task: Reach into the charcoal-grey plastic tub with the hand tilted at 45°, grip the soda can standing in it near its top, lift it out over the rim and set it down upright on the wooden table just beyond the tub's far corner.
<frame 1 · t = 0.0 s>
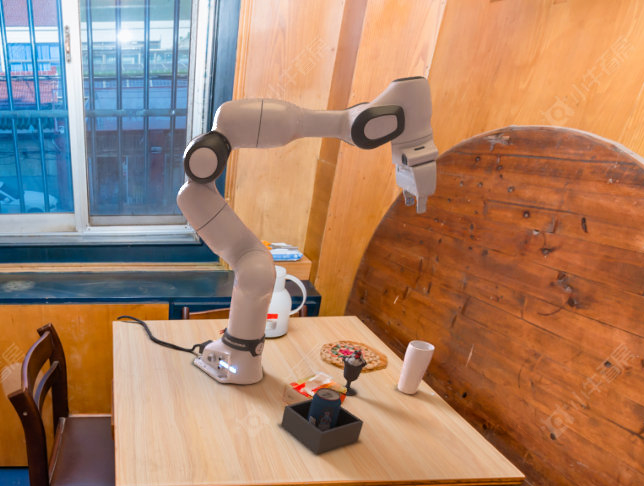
hand: (415, 208, 129), 52 cm above the table, tool tilted 20°, fingers open, 8 cm apart
soda can: (318, 433, 133), resting on tub
sundae: (346, 391, 152), on the table
drinking glass: (406, 390, 154), on the table
tub: (318, 433, 133), on the table
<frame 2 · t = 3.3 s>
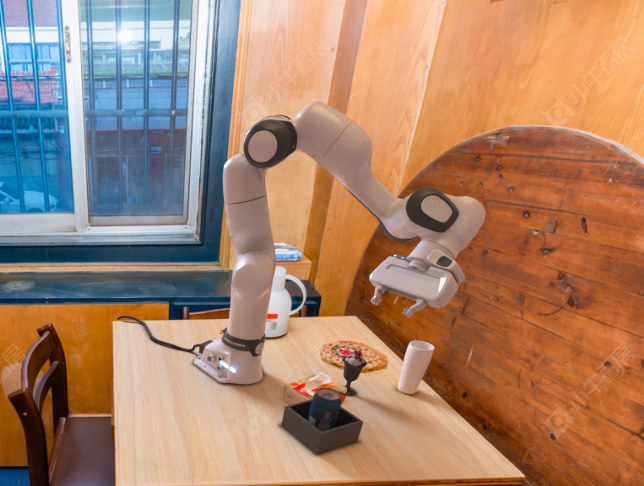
hand: (388, 309, 122), 32 cm above the table, tool tilted 40°, fingers open, 8 cm apart
nothing on the table moved.
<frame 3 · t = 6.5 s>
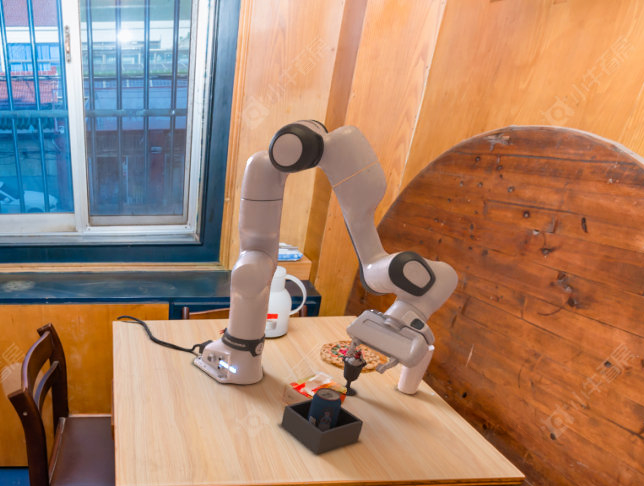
hand: (363, 363, 127), 19 cm above the table, tool tilted 45°, fingers open, 8 cm apart
nothing on the table moved.
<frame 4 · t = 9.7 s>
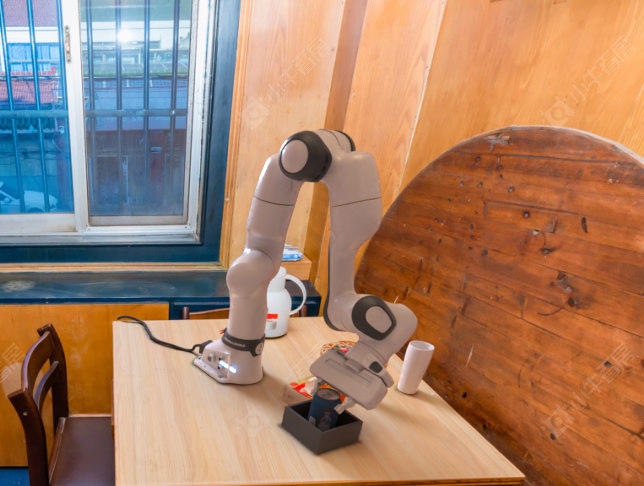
hand: (324, 403, 128), 9 cm above the table, tool tilted 45°, fingers closed on soda can, 7 cm apart
soda can: (318, 433, 133), resting on tub, touching gripper
everything else where it was.
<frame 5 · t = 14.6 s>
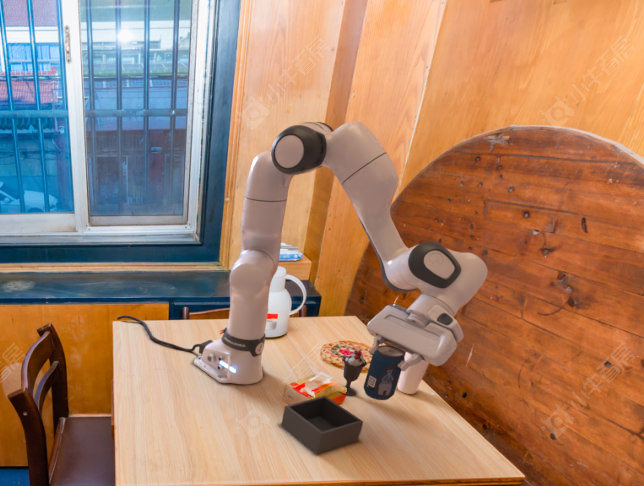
hand: (385, 361, 120), 23 cm above the table, tool tilted 45°, fingers closed on soda can, 7 cm apart
soda can: (377, 395, 125), point 13 cm above the table, touching gripper
everything else where it was.
when the fingers open (9 cm above the table, at t = 19.6 s): soda can stays where it is, on the table.
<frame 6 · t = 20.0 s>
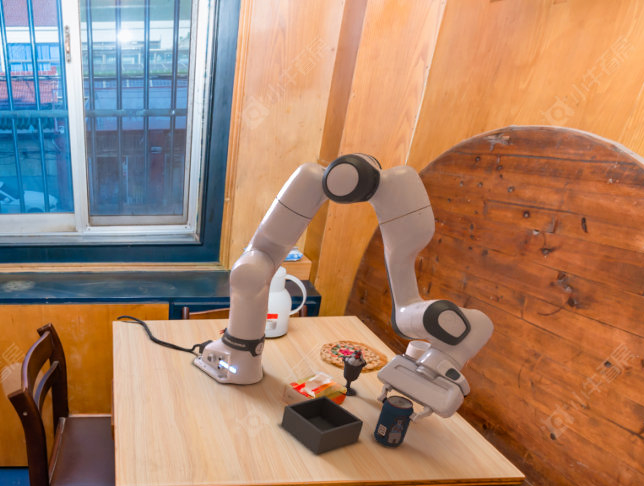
hand: (395, 410, 126), 9 cm above the table, tool tilted 45°, fingers open, 8 cm apart
soda can: (386, 441, 131), on the table
everything else where it was.
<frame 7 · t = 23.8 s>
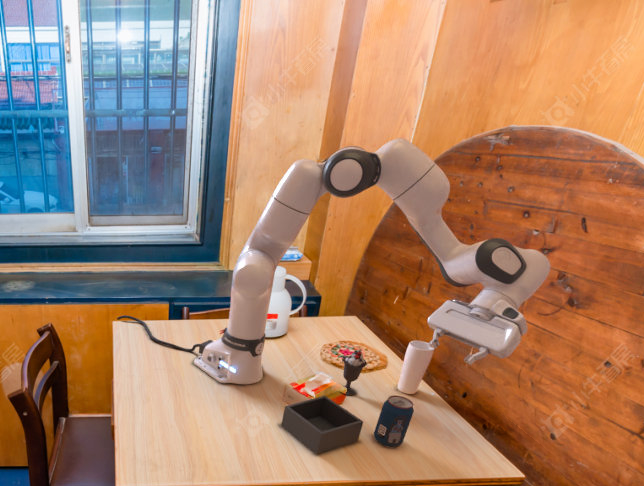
hand: (448, 354, 124), 23 cm above the table, tool tilted 45°, fingers open, 8 cm apart
nothing on the table moved.
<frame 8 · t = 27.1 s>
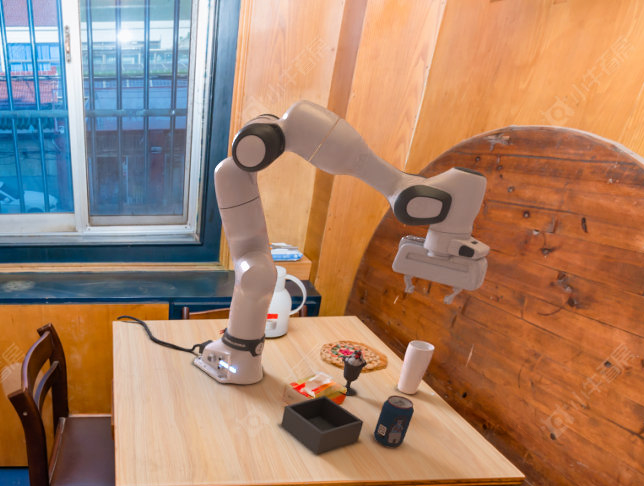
hand: (427, 297, 127), 33 cm above the table, tool pointing down, fingers open, 8 cm apart
nothing on the table moved.
at the end: soda can inside the target area (0.0 cm from its centre), on the table; soda can tilted 0°; the gripper is holding nothing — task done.
